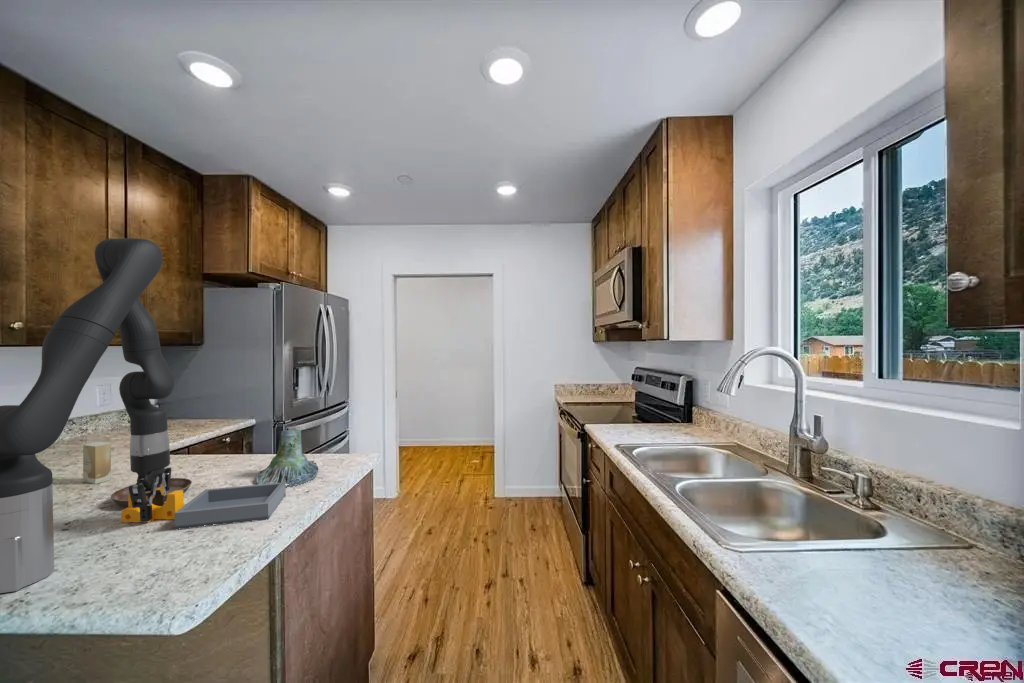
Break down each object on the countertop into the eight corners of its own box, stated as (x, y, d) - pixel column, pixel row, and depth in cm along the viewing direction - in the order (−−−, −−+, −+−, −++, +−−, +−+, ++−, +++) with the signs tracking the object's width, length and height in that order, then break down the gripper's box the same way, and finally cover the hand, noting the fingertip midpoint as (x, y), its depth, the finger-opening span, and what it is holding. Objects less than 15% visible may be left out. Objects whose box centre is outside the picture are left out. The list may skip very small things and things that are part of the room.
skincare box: (82, 482, 132) (81, 444, 132) (99, 477, 136) (98, 441, 136) (95, 484, 130) (94, 445, 130) (112, 479, 134) (111, 442, 134)
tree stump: (242, 493, 122) (244, 432, 126) (269, 486, 141) (271, 433, 145) (308, 486, 125) (308, 426, 129) (326, 480, 144) (326, 428, 148)
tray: (268, 519, 103) (268, 503, 103) (174, 529, 98) (174, 513, 98) (285, 495, 119) (285, 482, 119) (205, 503, 113) (205, 489, 113)
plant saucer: (207, 487, 127) (207, 478, 126) (151, 512, 109) (151, 500, 109) (155, 486, 128) (155, 476, 128) (92, 510, 111) (91, 499, 111)
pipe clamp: (121, 522, 102) (121, 497, 102) (138, 515, 106) (137, 490, 106) (169, 522, 102) (168, 497, 102) (183, 515, 106) (183, 490, 106)
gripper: (149, 443, 110) (151, 506, 110) (113, 460, 96) (116, 531, 96) (182, 441, 112) (184, 502, 112) (151, 457, 98) (154, 527, 98)
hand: (152, 515), depth 104 cm, fingers closed on pipe clamp, 5 cm apart
